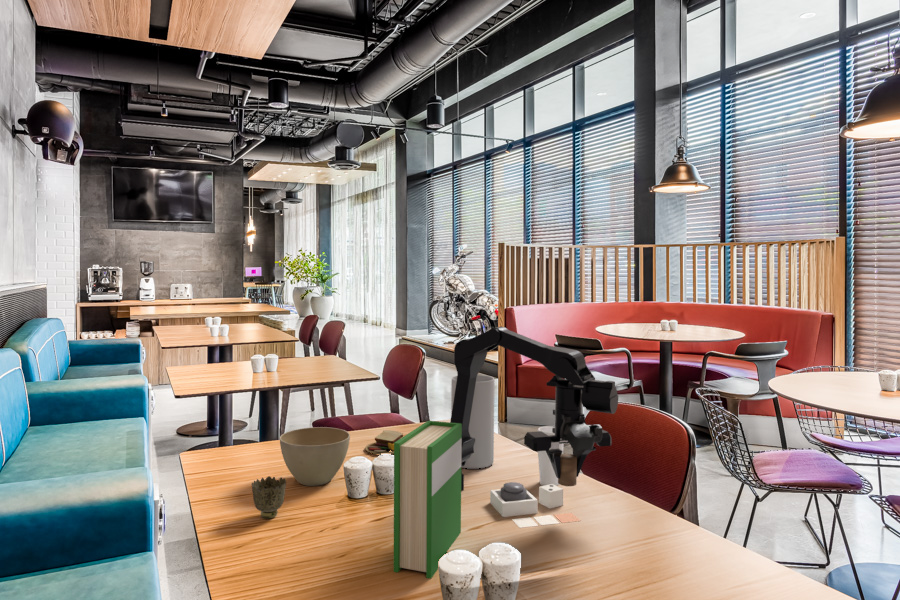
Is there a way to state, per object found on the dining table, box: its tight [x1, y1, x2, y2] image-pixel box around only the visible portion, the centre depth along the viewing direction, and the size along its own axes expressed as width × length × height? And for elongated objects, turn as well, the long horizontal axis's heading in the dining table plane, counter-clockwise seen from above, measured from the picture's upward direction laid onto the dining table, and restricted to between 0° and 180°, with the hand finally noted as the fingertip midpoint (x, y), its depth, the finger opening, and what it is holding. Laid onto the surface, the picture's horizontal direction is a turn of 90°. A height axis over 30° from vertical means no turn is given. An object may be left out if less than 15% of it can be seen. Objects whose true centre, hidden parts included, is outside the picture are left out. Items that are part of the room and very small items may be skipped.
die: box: [538, 484, 564, 509], centre depth 136 cm, size 4×4×4 cm
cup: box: [251, 476, 287, 520], centre depth 130 cm, size 8×7×8 cm
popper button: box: [500, 481, 528, 502], centre depth 134 cm, size 6×6×5 cm
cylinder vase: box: [450, 374, 495, 470], centre depth 169 cm, size 12×12×25 cm
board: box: [489, 488, 581, 529], centre depth 131 cm, size 18×16×4 cm
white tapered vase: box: [537, 425, 565, 486], centre depth 151 cm, size 7×7×15 cm
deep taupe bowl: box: [279, 426, 351, 487], centre depth 153 cm, size 18×18×12 cm
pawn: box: [558, 453, 578, 487], centre depth 128 cm, size 4×4×6 cm
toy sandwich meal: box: [365, 429, 404, 455], centre depth 182 cm, size 12×14×5 cm
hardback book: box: [393, 420, 462, 579], centre depth 113 cm, size 18×7×24 cm, turn 161°
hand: (567, 477), depth 128 cm, fingers closed on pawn, 4 cm apart
